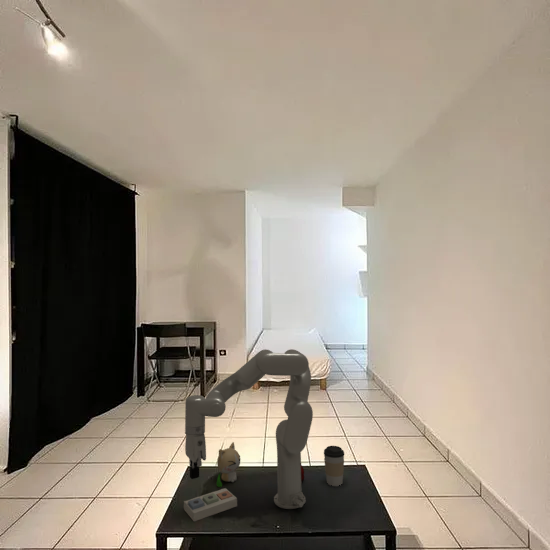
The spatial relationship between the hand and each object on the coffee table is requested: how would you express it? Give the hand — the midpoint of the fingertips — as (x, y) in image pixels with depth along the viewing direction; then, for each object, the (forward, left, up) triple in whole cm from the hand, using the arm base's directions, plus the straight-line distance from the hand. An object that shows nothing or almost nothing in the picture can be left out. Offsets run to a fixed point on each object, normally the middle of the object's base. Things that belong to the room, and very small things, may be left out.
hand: (194, 477), depth 153 cm
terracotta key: (0, -12, -13) cm, 18 cm away
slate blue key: (0, 0, -12) cm, 12 cm away
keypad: (0, -6, -13) cm, 15 cm away
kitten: (+16, -22, -14) cm, 31 cm away
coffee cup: (-13, -59, -14) cm, 62 cm away
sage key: (0, -6, -12) cm, 13 cm away
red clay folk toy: (-2, -46, -14) cm, 49 cm away
